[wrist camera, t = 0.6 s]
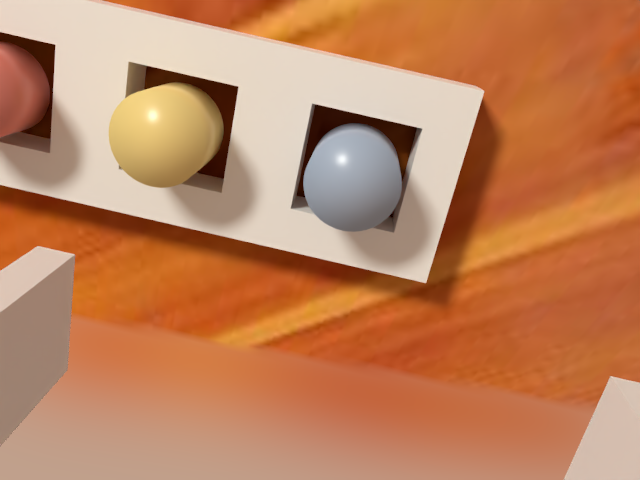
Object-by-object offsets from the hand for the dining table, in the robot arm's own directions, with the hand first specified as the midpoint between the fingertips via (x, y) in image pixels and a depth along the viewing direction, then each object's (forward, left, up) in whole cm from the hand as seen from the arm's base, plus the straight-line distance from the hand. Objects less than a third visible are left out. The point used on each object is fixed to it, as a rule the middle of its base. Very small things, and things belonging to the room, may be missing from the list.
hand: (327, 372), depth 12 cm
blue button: (0, 0, -19) cm, 19 cm away
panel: (-9, 0, -21) cm, 23 cm away
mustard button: (-9, 0, -19) cm, 21 cm away
